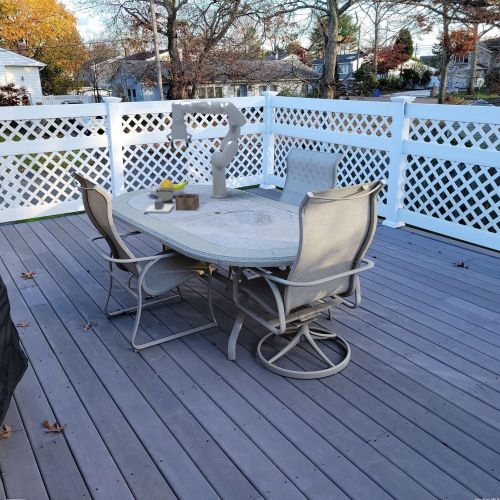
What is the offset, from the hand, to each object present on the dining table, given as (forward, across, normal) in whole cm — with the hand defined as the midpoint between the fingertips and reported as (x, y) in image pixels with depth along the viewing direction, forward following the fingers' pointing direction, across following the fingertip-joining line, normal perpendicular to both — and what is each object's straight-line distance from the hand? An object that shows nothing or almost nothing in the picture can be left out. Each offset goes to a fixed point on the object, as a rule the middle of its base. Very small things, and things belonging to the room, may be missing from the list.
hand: (179, 148), depth 322 cm
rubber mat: (+36, +10, +28) cm, 47 cm away
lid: (+35, +10, +28) cm, 46 cm away
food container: (+36, +10, +7) cm, 38 cm away
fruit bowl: (+36, +13, -15) cm, 41 cm away
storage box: (+36, -7, +21) cm, 42 cm away
